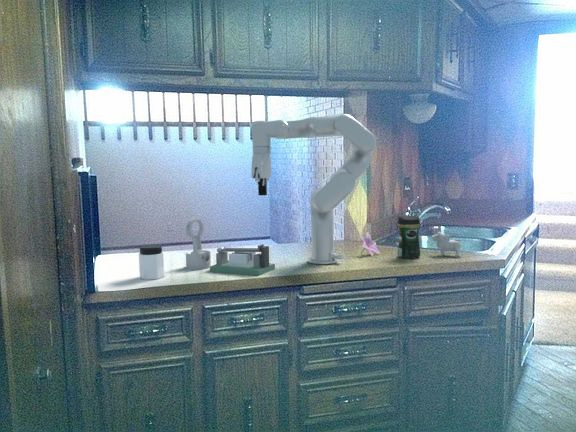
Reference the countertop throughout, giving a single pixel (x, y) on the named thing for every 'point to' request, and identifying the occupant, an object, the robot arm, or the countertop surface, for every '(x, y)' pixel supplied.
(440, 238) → the dog figurine
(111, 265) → the countertop surface
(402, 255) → the coffee jar
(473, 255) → the countertop surface
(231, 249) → the thin grey bar
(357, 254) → the countertop surface
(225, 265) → the base
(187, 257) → the engine component
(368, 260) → the countertop surface
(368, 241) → the lily
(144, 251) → the jar
